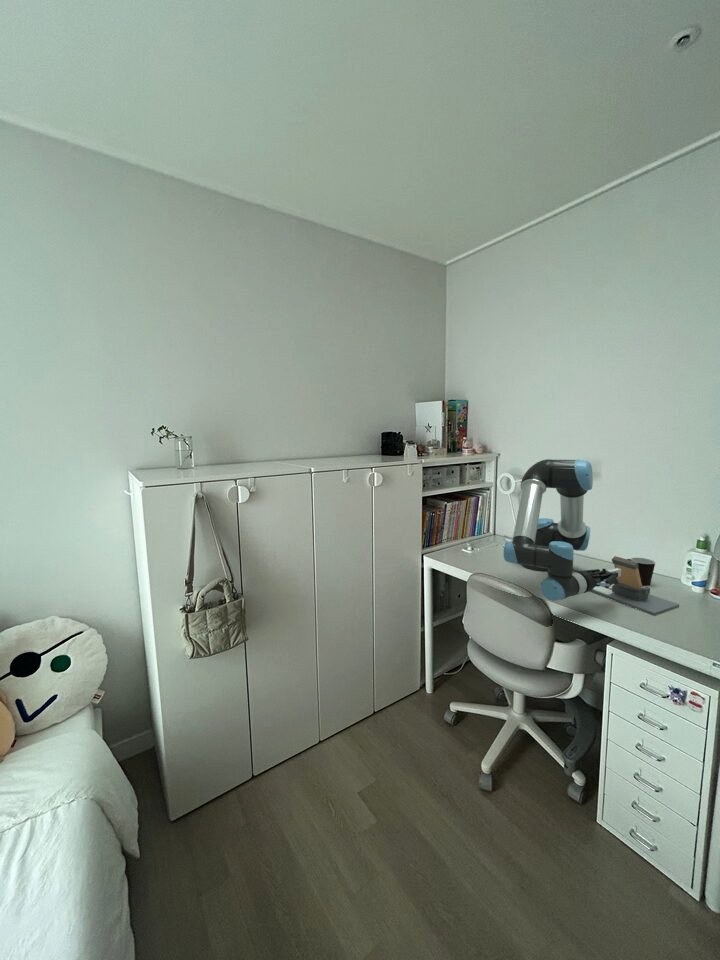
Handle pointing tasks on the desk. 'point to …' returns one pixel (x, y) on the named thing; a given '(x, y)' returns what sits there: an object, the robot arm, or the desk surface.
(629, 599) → the switch unit
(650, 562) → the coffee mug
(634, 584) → the paddle lever
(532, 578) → the desk surface
